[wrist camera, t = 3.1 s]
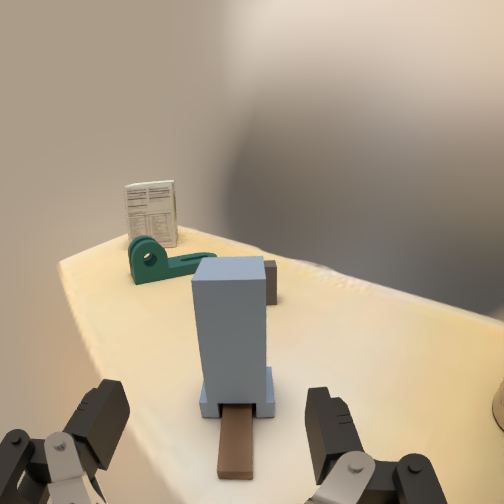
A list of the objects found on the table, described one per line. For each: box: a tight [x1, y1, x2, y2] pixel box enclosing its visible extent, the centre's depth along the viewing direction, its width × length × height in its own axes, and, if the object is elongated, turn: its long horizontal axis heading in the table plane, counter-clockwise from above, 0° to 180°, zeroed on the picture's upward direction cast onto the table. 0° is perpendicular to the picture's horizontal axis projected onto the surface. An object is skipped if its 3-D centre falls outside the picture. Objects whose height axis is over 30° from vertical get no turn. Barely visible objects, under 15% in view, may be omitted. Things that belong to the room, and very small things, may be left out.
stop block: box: [264, 260, 277, 305], centre depth 45 cm, size 10×3×6 cm, turn 90°
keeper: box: [191, 256, 275, 418], centre depth 23 cm, size 6×5×13 cm
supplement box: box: [124, 180, 178, 248], centre depth 80 cm, size 13×13×18 cm
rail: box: [217, 403, 253, 479], centre depth 30 cm, size 2×29×1 cm, turn 0°
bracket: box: [128, 235, 217, 285], centre depth 59 cm, size 18×7×8 cm, turn 120°
